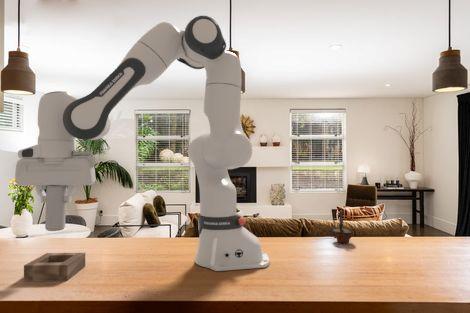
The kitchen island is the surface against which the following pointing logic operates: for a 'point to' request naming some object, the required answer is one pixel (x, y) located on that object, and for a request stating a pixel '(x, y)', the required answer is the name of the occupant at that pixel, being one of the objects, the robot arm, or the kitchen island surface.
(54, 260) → the walnut holder
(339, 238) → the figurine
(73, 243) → the kitchen island surface
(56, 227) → the beverage can
